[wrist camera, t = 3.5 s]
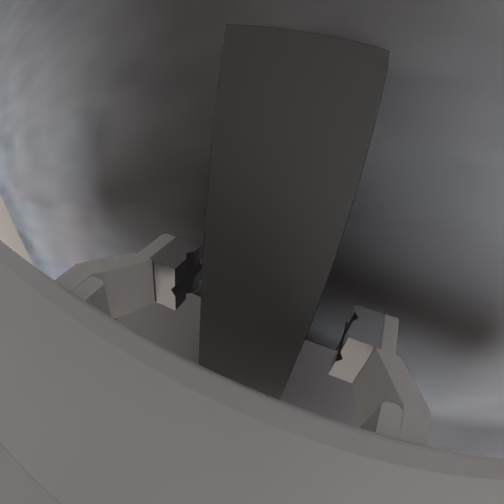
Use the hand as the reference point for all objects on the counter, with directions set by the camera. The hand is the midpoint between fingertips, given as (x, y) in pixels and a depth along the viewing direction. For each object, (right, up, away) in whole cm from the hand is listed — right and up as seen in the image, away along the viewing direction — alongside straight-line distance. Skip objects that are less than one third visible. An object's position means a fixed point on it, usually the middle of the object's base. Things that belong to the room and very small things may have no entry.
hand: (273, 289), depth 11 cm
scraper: (+1, +2, 0) cm, 3 cm away
